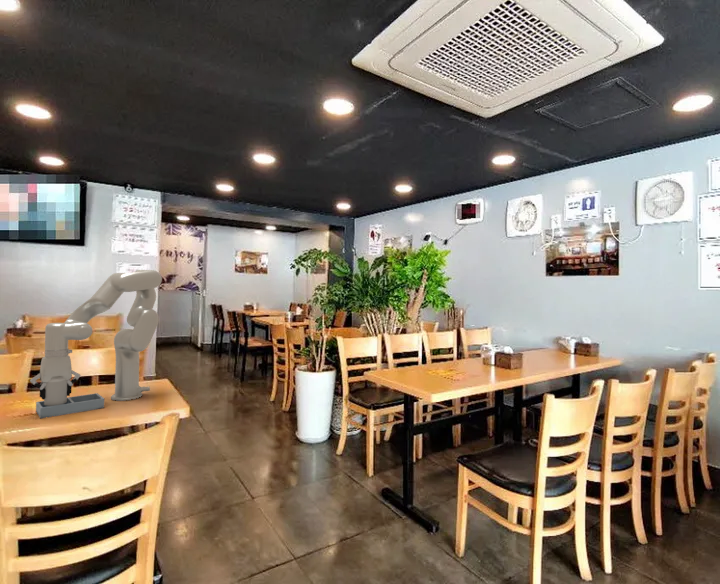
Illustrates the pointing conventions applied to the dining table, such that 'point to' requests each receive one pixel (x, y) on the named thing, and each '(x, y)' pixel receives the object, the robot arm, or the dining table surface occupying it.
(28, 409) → the dining table surface
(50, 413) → the tray
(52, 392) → the can
